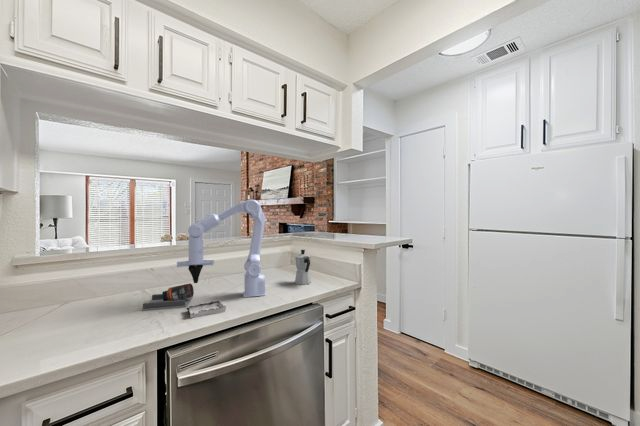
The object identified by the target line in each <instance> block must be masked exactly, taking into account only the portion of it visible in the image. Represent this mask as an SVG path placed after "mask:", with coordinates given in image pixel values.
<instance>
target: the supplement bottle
mask: <svg viewBox="0 0 640 426" xmlns="http://www.w3.org/2000/svg"><path fill="white" fill-rule="evenodd" d="M194 291H195V289H194V286H193V284H192V283H184V284H180V285H176V286H172V287H169V288H168V289H167V290H165V291H162V293H161V294H162V298H163V301H167V300H169V301H176V300H182V299H186V298H190V297H193V298H194V294H195V292H194Z"/></svg>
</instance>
